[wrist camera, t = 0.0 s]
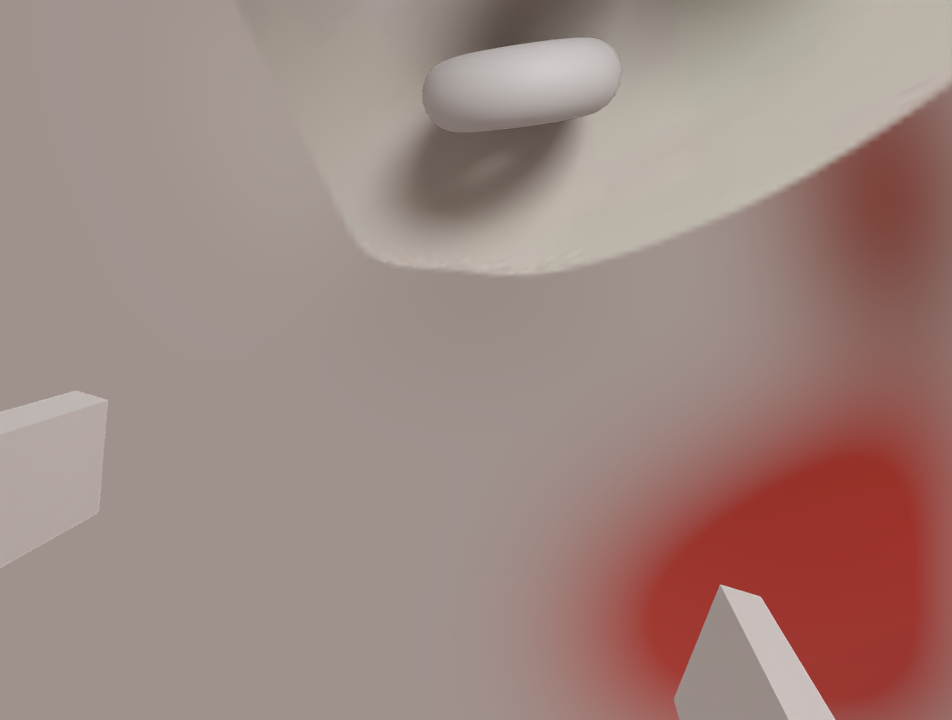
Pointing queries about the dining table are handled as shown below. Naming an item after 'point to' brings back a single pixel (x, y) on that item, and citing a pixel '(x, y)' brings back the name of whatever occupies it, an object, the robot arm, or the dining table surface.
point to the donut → (522, 85)
